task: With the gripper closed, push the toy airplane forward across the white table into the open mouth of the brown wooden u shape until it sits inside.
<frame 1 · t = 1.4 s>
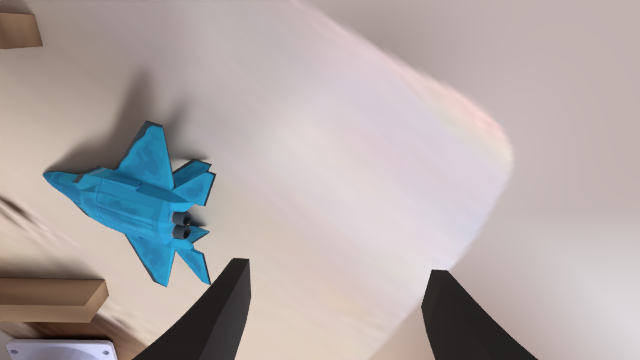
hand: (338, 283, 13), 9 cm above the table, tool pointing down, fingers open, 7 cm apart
toy airplane: (156, 179, 22), on the table
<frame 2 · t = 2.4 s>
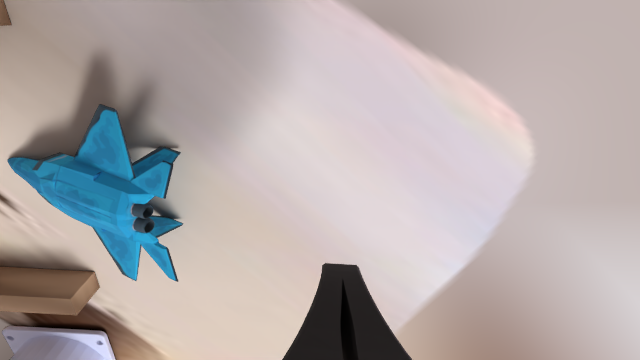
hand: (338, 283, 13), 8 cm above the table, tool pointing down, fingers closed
toy airplane: (126, 167, 20), on the table
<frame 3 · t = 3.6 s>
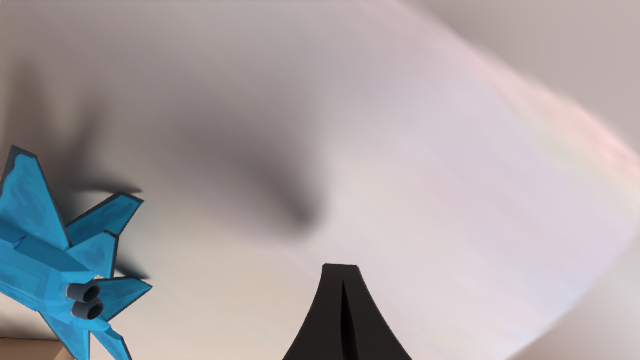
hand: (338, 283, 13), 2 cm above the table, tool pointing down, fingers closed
toy airplane: (74, 216, 15), on the table
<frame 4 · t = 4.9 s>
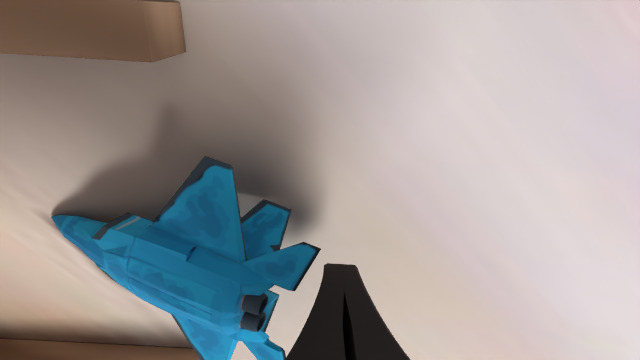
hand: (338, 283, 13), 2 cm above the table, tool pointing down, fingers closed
toy airplane: (208, 225, 15), on the table, touching gripper
brown wooden u shape: (66, 229, 15), on the table
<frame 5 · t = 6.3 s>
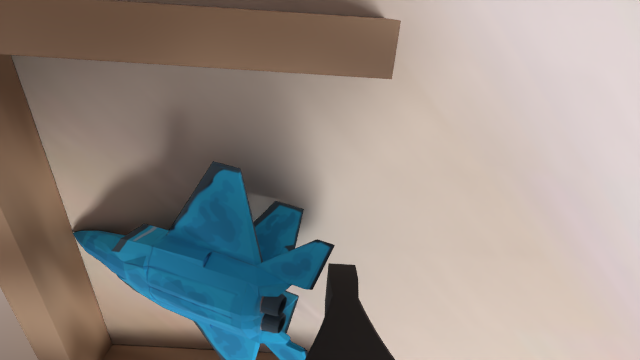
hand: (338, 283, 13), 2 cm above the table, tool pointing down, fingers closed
toy airplane: (223, 231, 15), on the table, touching brown wooden u shape, gripper
brown wooden u shape: (214, 238, 15), on the table
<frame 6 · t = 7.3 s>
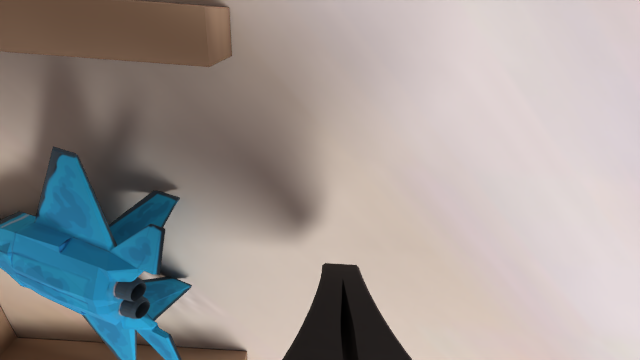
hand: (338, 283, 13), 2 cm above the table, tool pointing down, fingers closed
toy airplane: (111, 220, 15), on the table
brown wooden u shape: (99, 230, 15), on the table
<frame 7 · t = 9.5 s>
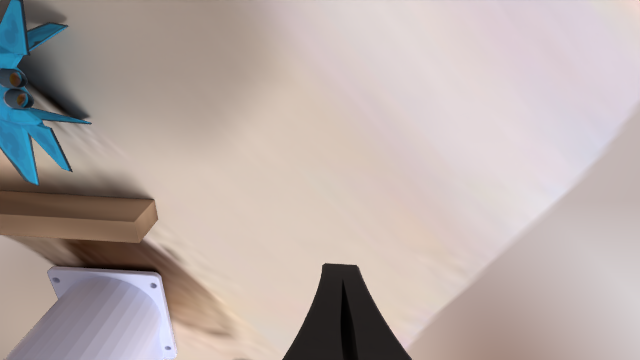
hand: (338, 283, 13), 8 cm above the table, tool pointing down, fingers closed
toy airplane: (18, 58, 18), on the table
brown wooden u shape: (5, 63, 18), on the table
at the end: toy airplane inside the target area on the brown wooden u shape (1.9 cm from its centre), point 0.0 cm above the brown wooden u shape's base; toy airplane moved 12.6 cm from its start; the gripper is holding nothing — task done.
